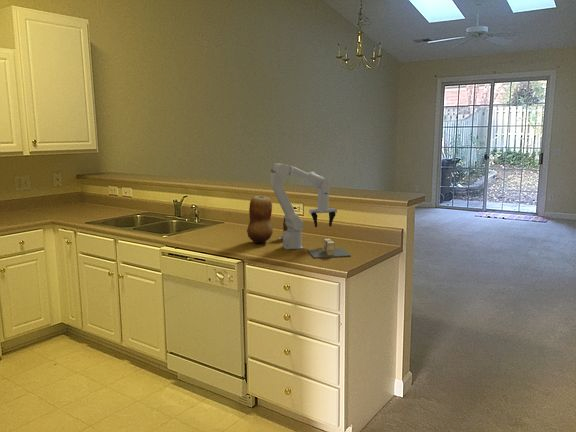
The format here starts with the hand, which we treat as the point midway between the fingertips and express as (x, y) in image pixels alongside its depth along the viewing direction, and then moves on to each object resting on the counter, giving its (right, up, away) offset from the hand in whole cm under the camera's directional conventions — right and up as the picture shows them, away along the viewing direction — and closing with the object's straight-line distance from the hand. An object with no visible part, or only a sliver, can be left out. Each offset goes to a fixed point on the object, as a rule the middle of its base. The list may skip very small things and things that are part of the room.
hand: (323, 226), depth 257 cm
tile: (+1, -12, -19) cm, 22 cm away
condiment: (-19, -7, +17) cm, 26 cm away
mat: (+1, -13, -18) cm, 22 cm away
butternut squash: (-33, -9, +6) cm, 35 cm away
